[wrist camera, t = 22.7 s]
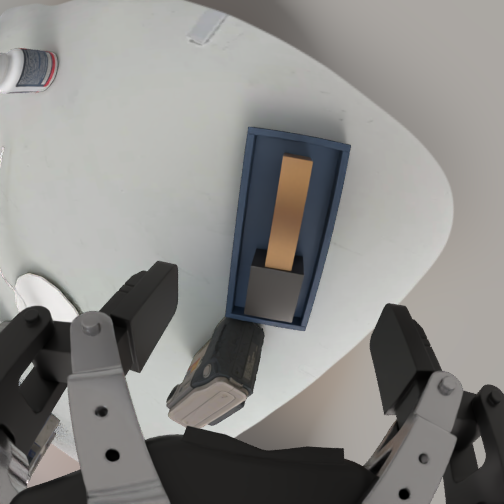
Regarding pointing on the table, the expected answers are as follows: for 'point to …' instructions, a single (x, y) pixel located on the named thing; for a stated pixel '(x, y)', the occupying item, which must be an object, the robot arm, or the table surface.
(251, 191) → the tray
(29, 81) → the pill bottle
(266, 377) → the table surface
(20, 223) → the table surface
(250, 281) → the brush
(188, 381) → the camera
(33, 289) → the desk lamp
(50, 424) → the building
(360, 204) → the table surface
